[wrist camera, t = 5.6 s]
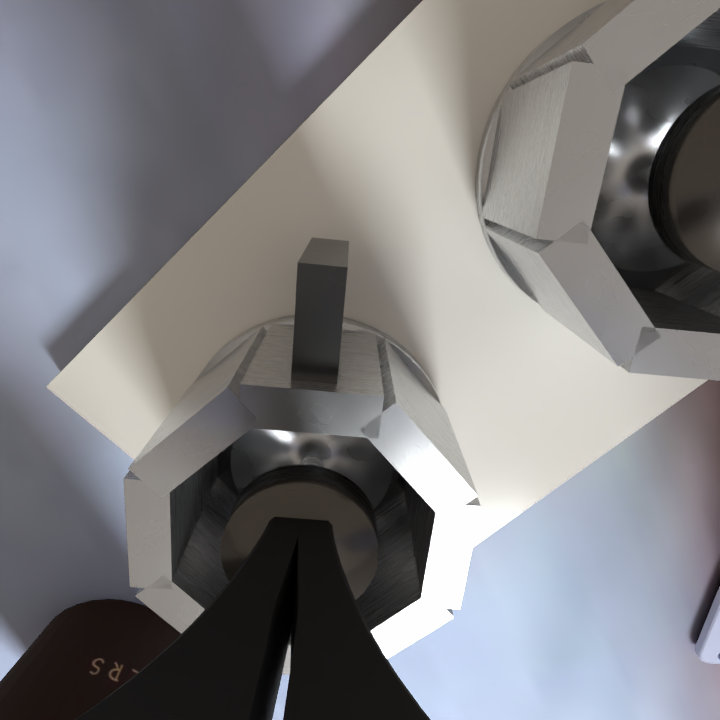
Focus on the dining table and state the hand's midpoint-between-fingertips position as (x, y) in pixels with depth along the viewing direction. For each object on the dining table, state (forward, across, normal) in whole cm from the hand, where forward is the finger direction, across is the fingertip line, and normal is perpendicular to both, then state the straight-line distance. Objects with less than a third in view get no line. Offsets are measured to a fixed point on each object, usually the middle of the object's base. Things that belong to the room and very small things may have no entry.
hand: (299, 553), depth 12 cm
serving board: (+7, -4, -4) cm, 9 cm away
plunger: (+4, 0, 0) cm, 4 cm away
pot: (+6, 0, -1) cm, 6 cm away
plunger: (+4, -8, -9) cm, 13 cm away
